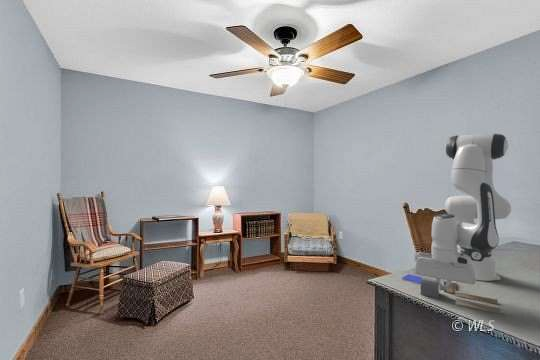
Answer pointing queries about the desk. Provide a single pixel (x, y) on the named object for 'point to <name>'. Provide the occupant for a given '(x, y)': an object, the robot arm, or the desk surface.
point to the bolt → (450, 288)
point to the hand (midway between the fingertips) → (443, 290)
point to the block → (429, 287)
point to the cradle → (477, 297)
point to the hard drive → (412, 279)
